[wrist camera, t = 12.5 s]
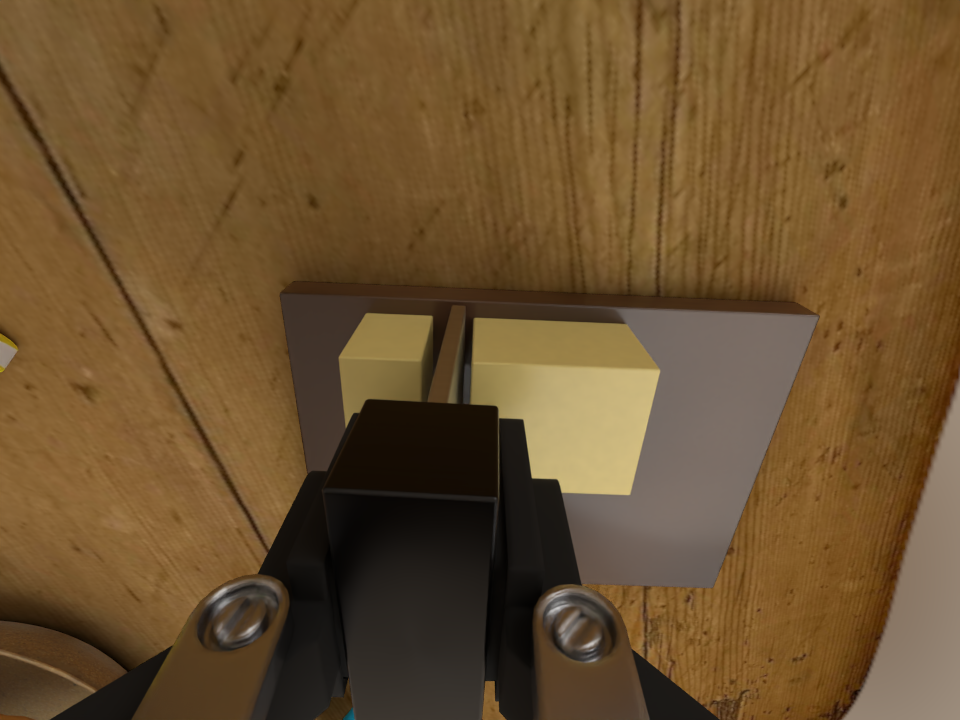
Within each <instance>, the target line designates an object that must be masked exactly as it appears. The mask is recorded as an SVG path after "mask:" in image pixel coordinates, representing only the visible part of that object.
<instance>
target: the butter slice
mask: <svg viewBox="0 0 960 720" xmlns="http://www.w3.org/2000/svg"><path fill="white" fill-rule="evenodd" d="M339 368H340V377H341V387H342V397H343V406H344V416H345V426H346V427H347V425H348V423H349V421H350V419H351V416H352V415H353V413H360V411H361V409H362V407H363V404H364V402H365V400H367V399H383V400H402V401H420V402H427V400H428V397H429V393H430V389H431V385H432V381H433V317H432V316H424V315H400V314H376V313H366V314H365V316H364V317H363V319H362V321H361V322H360V324H359V325H358V327H357V329H356V330H355V332H354V333H353V335H352V337H351V338H350V340H349V341H348V343H347V345H346V346H345V348H344V349H343V351H342V353H341V354H340V356H339Z"/></svg>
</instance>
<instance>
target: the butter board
mask: <svg viewBox="0 0 960 720" xmlns="http://www.w3.org/2000/svg"><path fill="white" fill-rule="evenodd" d="M280 300H281V306H282V313H283V319H284V326H285V332H286V339H287V345H288V352H289V358H290V364H291V371H292V377H293V384H294V390H295V397H296V403H297V409H298V416H299V422H300V429H301V435H302V442H303V448H304V454H305V461H306V467H307V474H309V472H311V471H312V470H313V471H327V470H328V467H329V465H330V463H331V461H332V459H333V456H334V454H335V452H336V450H337V447H338V445H339V443H340V441H341V439H342V436H343V434H344V432H345V430H346V426H345V416H344V406H343V397H342V387H341V377H340V368H339V356H340V354H341V353H342V351H343V349H344V348H345V346H346V345H347V343H348V341H349V340H350V338H351V337H352V335H353V333H354V332H355V330H356V329H357V327H358V325H359V324H360V322H361V321H362V319H363V317H364V316H365V314H366V313H376V314H400V315H424V316H432V317H433V377H434V373H435V369H436V366H437V362H438V358H439V354H440V350H441V346H442V342H443V339H444V335H445V331H446V327H447V323H448V319H449V315H450V312H451V308H452V306H453V305H458V306H465V307H466V318H465V352H464V385H463V404H470V386H471V361H472V339H473V319H474V318H494V319H518V320H542V321H566V322H590V323H614V324H627V325H628V327H629V328H630V329H631V331H632V332H633V334H634V335H635V336H636V338H637V339H638V340H639V342H640V343H641V344H642V346H643V347H644V348H645V350H646V351H647V353H648V354H649V355H650V357H651V358H652V359H653V361H654V362H655V363H656V365H657V366H658V367H659V369H660V374H659V378H658V382H657V386H656V390H655V395H654V399H653V403H652V407H651V411H650V415H649V419H648V423H647V427H646V432H645V436H644V440H643V444H642V448H641V452H640V456H639V460H638V464H637V468H636V473H635V477H634V481H633V485H632V489H631V493H630V495H608V494H581V493H562V497H563V501H564V506H565V510H566V515H567V520H568V524H569V529H570V533H571V538H572V543H573V547H574V552H575V556H576V561H577V566H578V570H579V575H580V579H581V584H602V585H632V586H662V587H693V588H713V587H714V584H715V582H716V579H717V577H718V574H719V572H720V569H721V567H722V564H723V561H724V559H725V556H726V554H727V551H728V549H729V546H730V544H731V541H732V539H733V536H734V533H735V531H736V528H737V526H738V523H739V521H740V518H741V516H742V513H743V511H744V508H745V505H746V503H747V500H748V498H749V495H750V493H751V490H752V488H753V485H754V483H755V480H756V477H757V475H758V472H759V470H760V467H761V465H762V462H763V460H764V457H765V455H766V452H767V450H768V447H769V444H770V442H771V439H772V437H773V434H774V432H775V429H776V427H777V424H778V422H779V419H780V416H781V414H782V411H783V409H784V406H785V404H786V401H787V399H788V396H789V394H790V391H791V388H792V386H793V383H794V381H795V378H796V376H797V373H798V371H799V368H800V366H801V363H802V360H803V358H804V355H805V353H806V350H807V348H808V345H809V343H810V340H811V338H812V335H813V333H814V330H815V327H816V325H817V322H818V320H819V315H818V314H816V313H814V312H812V311H810V310H809V309H807V308H805V307H803V306H801V305H800V304H798V303H794V302H770V301H747V300H723V299H700V298H676V297H653V296H629V295H606V294H582V293H559V292H535V291H512V290H488V289H465V288H441V287H418V286H394V285H371V284H348V283H324V282H301V281H294V282H292V283H291V284H290V285H289V286H287V287H286V288H285V289H284V290H283V291H281V292H280Z"/></svg>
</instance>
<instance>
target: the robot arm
mask: <svg viewBox="0 0 960 720" xmlns="http://www.w3.org/2000/svg"><path fill="white" fill-rule="evenodd" d="M358 415H359V413H353V415H352V416H351V419H350V421H349V423H348V425H347V427H346V430H345V432H344V434H343V436H342V439H341V441H340V443H339V445H338V447H337V450H336V452H335V454H334V456H333V459H332V461H331V463H330V465H329V467H328V470H327V471H313V470H312V471H311V472H309V474H308V475H307V477H306V479H305V481H304V483H303V485H302V487H301V489H300V490H299V492H298V494H297V496H296V498H295V500H294V502H293V504H292V506H291V508H290V510H289V512H288V514H287V516H286V518H285V520H284V522H283V524H282V526H281V528H280V530H279V532H278V534H277V536H276V538H275V540H274V542H273V544H272V546H271V548H270V550H269V552H268V554H267V556H266V558H265V560H264V562H263V564H262V566H261V568H260V570H259V572H258V574H254V575H245V576H241V577H238V578H236V579H233V580H230V581H227V582H226V583H224V584H222V585H221V586H219V587H217V588H216V589H214V590H213V591H211V592H210V593H209V594H208V595H207V596H206V597H205V598H203V599H202V600H201V601H200V602H199V604H198V605H197V607H196V608H195V609H194V611H193V612H192V613H191V615H190V617H189V618H188V620H187V622H186V624H185V625H184V627H183V629H182V631H181V633H180V634H179V636H178V638H177V640H176V641H175V643H174V645H173V646H171V647H169V648H168V649H166V650H164V651H163V652H161V653H159V654H158V655H156V656H154V657H153V658H151V659H149V660H148V661H146V662H144V663H143V664H141V665H139V666H138V667H136V668H134V669H133V670H131V671H129V672H128V673H126V674H124V675H123V676H121V677H119V678H118V679H116V680H114V681H113V682H111V683H109V684H108V685H106V686H104V687H103V688H101V689H99V690H98V691H96V692H94V693H93V694H91V695H90V696H88V697H86V698H85V699H83V700H81V701H80V702H78V703H76V704H75V705H73V706H71V707H70V708H68V709H66V710H65V711H63V712H61V713H60V714H58V715H56V716H55V717H53V718H51V719H50V720H314V719H315V718H316V717H318V716H319V715H320V714H321V713H322V712H324V711H325V710H326V709H327V708H328V707H329V705H330V701H331V697H344V693H345V689H346V684H347V680H348V670H347V663H346V656H345V649H344V642H343V635H342V628H341V621H340V614H339V607H338V600H337V593H336V586H335V579H334V572H333V565H332V558H331V551H330V544H329V537H328V530H327V523H326V516H325V509H324V502H323V495H322V489H323V487H324V485H325V483H326V480H327V478H328V476H329V474H330V472H331V470H332V468H333V466H334V464H335V462H336V460H337V458H338V456H339V454H340V452H341V450H342V448H343V446H344V443H345V441H346V439H347V437H348V435H349V433H350V431H351V429H352V427H353V425H354V423H355V421H356V419H357V417H358ZM485 681H495V701H499V712H500V713H501V714H502V715H503V716H504V717H505V718H506V719H507V720H719V719H718V718H717V717H716V716H715V715H713V714H712V713H711V712H710V711H708V710H707V709H706V708H705V707H703V706H702V705H701V704H700V703H698V702H697V701H696V700H695V699H693V698H692V697H691V696H690V695H688V694H687V693H686V692H685V691H683V690H682V689H681V688H680V687H679V686H677V685H676V684H675V683H674V682H672V681H671V680H670V679H669V678H667V677H666V676H665V675H664V674H662V673H661V672H660V671H659V670H657V669H656V668H655V667H654V666H652V665H651V664H650V663H649V662H647V661H646V660H645V659H644V658H643V657H641V656H640V655H639V654H638V653H636V652H635V651H634V650H633V649H631V645H630V641H629V637H628V634H627V630H626V626H625V624H624V622H623V619H622V617H621V615H620V613H619V612H618V610H617V609H616V608H615V607H614V605H613V604H612V603H611V602H610V601H609V600H608V599H606V598H605V597H604V596H603V595H601V594H600V593H599V592H596V591H594V590H592V589H590V588H588V587H585V586H582V584H581V579H580V575H579V570H578V566H577V561H576V556H575V552H574V547H573V543H572V538H571V533H570V529H569V524H568V520H567V515H566V510H565V506H564V501H563V497H562V492H561V487H560V484H559V481H558V480H557V479H539V478H532V475H531V468H530V461H529V454H528V447H527V440H526V433H525V426H524V420H523V419H511V418H499V511H498V523H497V536H496V549H495V561H494V574H493V587H492V599H491V612H490V625H489V638H488V650H487V663H486V676H485Z"/></svg>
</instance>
